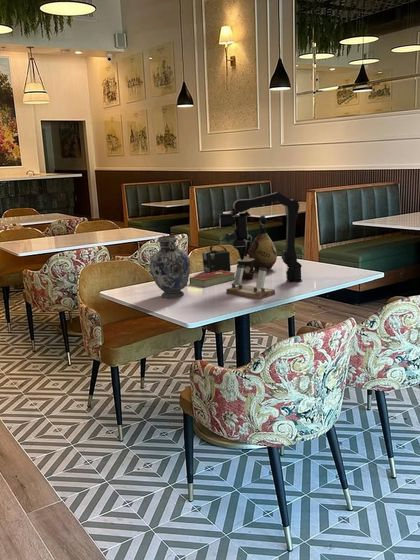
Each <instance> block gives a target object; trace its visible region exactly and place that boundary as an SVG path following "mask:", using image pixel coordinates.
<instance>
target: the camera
mask: <svg viewBox="0 0 420 560" xmlns="http://www.w3.org/2000/svg"><path fill="white" fill-rule="evenodd" d="M213 247H221V248H222V249H220V250H213ZM230 256H231V255H230V251H228V250H227V248H225V247H224V246H222V245H219V244H212V245H210V247H209V250H208V251H203V252H202V266H203V272H205V273H206V274H207V273H212V272H216V271H220V270H221V271H228V272H231V268H232V267H231V258H230Z"/></svg>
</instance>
